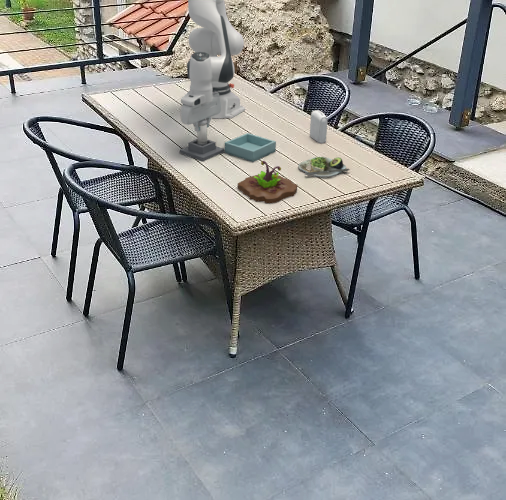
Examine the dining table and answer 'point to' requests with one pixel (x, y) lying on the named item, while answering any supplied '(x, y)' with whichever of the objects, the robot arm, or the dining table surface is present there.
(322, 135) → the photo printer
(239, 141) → the parts tray
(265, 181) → the plant
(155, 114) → the dining table surface
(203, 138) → the cylinder
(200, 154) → the grey square socket
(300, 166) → the salad plate
